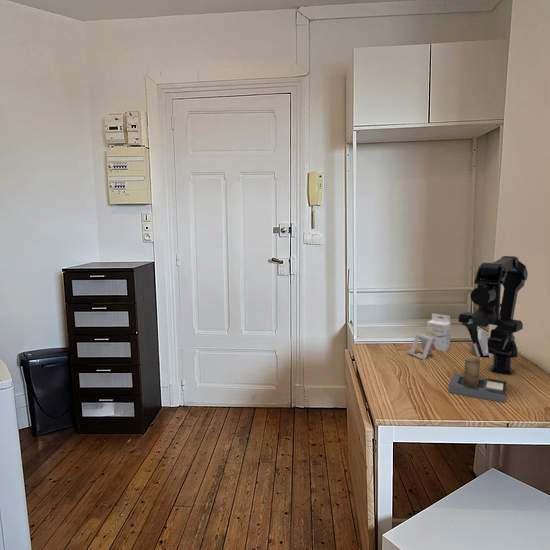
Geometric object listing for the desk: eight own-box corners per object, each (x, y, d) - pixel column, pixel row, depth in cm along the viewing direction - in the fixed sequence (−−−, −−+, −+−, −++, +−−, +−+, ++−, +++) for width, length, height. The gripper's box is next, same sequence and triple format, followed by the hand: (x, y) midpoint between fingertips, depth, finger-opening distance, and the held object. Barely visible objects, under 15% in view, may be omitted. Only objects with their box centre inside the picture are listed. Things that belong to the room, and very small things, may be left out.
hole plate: (453, 380, 145) (453, 372, 144) (506, 388, 136) (506, 380, 136) (448, 392, 134) (448, 384, 134) (504, 402, 126) (505, 393, 126)
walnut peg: (462, 386, 139) (463, 357, 138) (477, 387, 138) (478, 358, 137) (464, 391, 135) (466, 362, 134) (479, 392, 134) (481, 363, 132)
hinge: (490, 358, 166) (482, 334, 167) (478, 360, 169) (470, 337, 169) (492, 347, 180) (485, 325, 181) (481, 349, 183) (473, 327, 183)
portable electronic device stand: (407, 354, 173) (407, 334, 172) (421, 351, 176) (422, 332, 175) (422, 360, 165) (423, 340, 164) (437, 357, 169) (437, 337, 168)
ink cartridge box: (425, 347, 181) (426, 314, 179) (430, 345, 185) (431, 312, 183) (445, 351, 175) (446, 317, 173) (449, 349, 179) (451, 315, 177)
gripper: (451, 300, 140) (449, 345, 142) (510, 308, 125) (507, 358, 127) (466, 296, 147) (465, 338, 149) (524, 303, 132) (521, 350, 134)
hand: (487, 346), depth 140 cm, fingers open, 9 cm apart
